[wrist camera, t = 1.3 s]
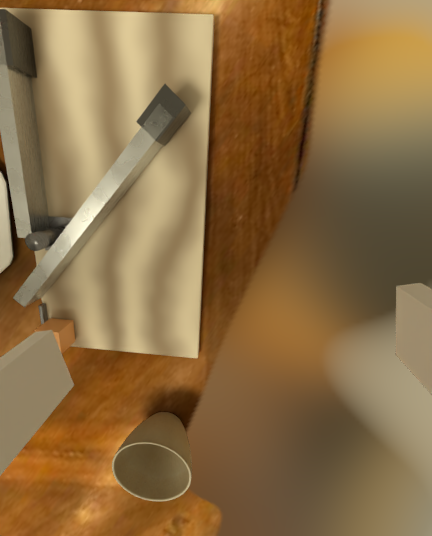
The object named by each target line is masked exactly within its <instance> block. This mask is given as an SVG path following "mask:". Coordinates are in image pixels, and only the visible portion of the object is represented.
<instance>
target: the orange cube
mask: <svg viewBox="0 0 432 536" xmlns="http://www.w3.org/2000/svg"><path fill="white" fill-rule="evenodd" d="M47 330H52V331H53V334H54V336H55V339H56V341H57V344H58V346H59V349H60V351H61V354H63V353H64V352H65V351H66V350H67V349H68V348H69V347H70V346H71V345H72V344H73V343H74V342H75V341H76V340H75V331H74V322H73V320H65V319H54V318H50V319H49V320H47V321H46V322H45V323H43V324H42V325H40V326H39V327H38V328H36V329H35V330H34V333H35V332H39V331H47Z"/></svg>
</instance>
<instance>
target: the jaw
mask: <svg viewBox="0 0 432 536" xmlns="http://www.w3.org/2000/svg"><path fill="white" fill-rule="evenodd" d="M190 114H191V112H190V110H189V109H188V107H187V106H186V104H185V103H184V102H183V101H182V100H181V99H180V98H179V97H178V96H177V95H176V94H175V93H174V92H173V91H172V90H171V89H170V88H169V87H168V86H167V85H166V84H164V85H163V86H162V88H161V89H160V90H159V92H158V93H157V94H156V96H155V97H154V99H153V100H152V101H151V103H150V104H149V105H148V107H147V108H146V109H145V111H144V112H143V113H142V115H141V116H140V117H139V119H138V120H137V121H136V122H137V123H138V124H139V125H140V126H141V128H140V129H139V131H138V132H137V133H136V135H135V136H134V137H133V139H132V140H131V141H130V143H129V144H128V145H127V147H126V148H125V149H124V151H123V152H122V153H121V155H120V156H119V157H118V159H117V160H116V161H115V163H114V164H113V165H112V167H111V168H110V169H109V171H108V172H107V173H106V175H105V176H104V177H103V179H102V180H101V181H100V183H99V184H98V185H97V187H96V188H95V189H94V191H93V192H92V193H91V195H90V196H89V197H88V199H87V200H86V201H85V203H84V204H83V205H82V207H81V208H80V209H79V211H78V212H77V213H76V215H75V216H74V217H73V219H72V220H71V221H70V223H69V224H68V225H67V227H66V228H65V229H64V231H63V232H62V233H61V235H60V236H59V237H58V239H57V240H56V241H55V243H54V244H53V245H52V247H51V248H50V249H49V250H48V252H47V253H46V254H45V256H44V257H43V258H42V260H41V261H40V262H39V264H38V265H37V266H36V268H35V269H34V270H33V272H32V273H31V274H30V276H29V277H28V278H27V280H26V281H25V282H24V284H23V285H22V286H21V288H20V289H19V290H18V292H17V293H16V294H15V296H14V297H13V299H15V300H16V301H17V302H19V303H20V304H21V305H22V306H24V307H26V306H28V305H29V304H31V303H33V302H35V301H36V300H38V299H40V298H41V297H43V296H44V294H45V293H46V292H47V291H48V289H49V288H50V287H51V286H52V284H53V283H54V282H55V281H56V279H57V278H58V277H59V276H60V274H61V273H62V272H63V271H64V269H65V268H66V267H67V266H68V264H69V263H70V262H71V261H72V259H73V258H74V257H75V255H76V254H77V253H78V252H79V250H80V249H81V248H82V247H83V245H84V244H85V243H86V242H87V240H88V239H89V238H90V237H91V235H92V234H93V233H94V232H95V230H96V229H97V228H98V227H99V225H100V224H101V223H102V222H103V220H104V219H105V218H106V216H107V215H108V214H109V213H110V211H111V210H112V209H113V208H114V206H115V205H116V204H117V203H118V201H119V200H120V199H121V198H122V196H123V195H124V194H125V193H126V191H127V190H128V189H129V188H130V186H131V185H132V184H133V183H134V181H135V180H136V179H137V177H138V176H139V175H140V174H141V172H142V171H143V170H144V169H145V167H146V166H147V165H148V164H149V162H150V161H151V160H152V159H153V157H154V156H155V155H156V154H157V152H158V151H159V150H160V149H161V147H162V146H163V145H164V146H166V144H167V143H168V142H169V141H170V139H171V138H172V137H173V136H174V134H175V133H176V132H177V131H178V129H179V128H180V127H181V126H182V124H183V123H184V122H185V121H186V119H187V118H188V117H189V116H190Z"/></svg>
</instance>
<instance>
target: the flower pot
mask: <svg viewBox="0 0 432 536" xmlns="http://www.w3.org/2000/svg"><path fill="white" fill-rule="evenodd" d="M191 463H192V462H191V451H190V445H189V441H188V437H187V434H186V431H185V428H184V426H183V424H182V422H181V420H180V419H179V418H178V417H177V416H176V415H174V414H172V413H169V412H158V413H156V414H154V415H152V416H150V417H149V418H147V419H146V420H144V421H143V422H142V423H141V424H140V425H138V426H137V427H136V428H135V429H134V430H133V431H132V432H131V434H130V435H129V436H128V437H127V438H126V440H125V441H124V442H123V444H122V445H121V447H120V448H119V450H118V451H117V453H116V455H115V456H114V459H113V462H112V470H113V474H114V477H115V478H116V480H117V482H118V483H119V484H120V485H121V486H122V487H123V488H124V489H125V490H126V491H128V492H129V493H131V494H133V495H135V496H137V497H139V498H142V499H145V500H150V501H168V500H172V499H175V498H177V497H179V496H181V495H182V494H183V493H184V492H186V490H187V489H188V487H189V486H190V483H191V474H192V464H191Z"/></svg>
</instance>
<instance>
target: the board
mask: <svg viewBox="0 0 432 536" xmlns="http://www.w3.org/2000/svg"><path fill="white" fill-rule="evenodd" d="M0 9H6V10H7V11H9V12H10V13H11V14H13V15H14V16H15V17H17V18H18V19H19V20H21V21H22V22H23V23H25V24H26V25H27V26H29V27H30V28H31V30H32V39H33V47H34V55H35V64H36V72H37V78H31V79H32V87H33V95H34V103H35V111H36V119H37V127H38V135H39V143H40V151H41V159H42V167H43V175H44V183H45V191H46V198H47V206H48V214H49V216H53V217H68V218H73V217H74V216H75V215H76V213H77V212H78V211H79V209H80V208H81V207H82V205H83V204H84V203H85V201H86V200H87V199H88V197H89V196H90V195H91V193H92V192H93V191H94V189H95V188H96V187H97V185H98V184H99V183H100V181H101V180H102V179H103V177H104V176H105V175H106V173H107V172H108V171H109V169H110V168H111V167H112V165H113V164H114V163H115V161H116V160H117V159H118V157H119V156H120V155H121V153H122V152H123V151H124V149H125V148H126V147H127V145H128V144H129V143H130V141H131V140H132V139H133V137H134V136H135V135H136V133H137V132H138V131H139V129H140V128H141V126H140V125H139V124H138V123H137V122H136V121H137V120H138V119H139V117H140V116H141V115H142V113H143V112H144V111H145V109H146V108H147V107H148V105H149V104H150V103H151V101H152V100H153V99H154V97H155V96H156V94H157V93H158V92H159V90H160V89H161V88H162V86H163V85H164V84H166V85H167V86H168V87H169V88H170V89H171V90H172V91H173V92H174V93H175V94H176V95H177V96H178V97H179V98H180V99H181V100H182V101H183V102H184V103H185V104H186V106H187V107H188V109H189V110H190V112H191V114H190V116H189V117H188V118H187V119H186V121H185V122H184V123H183V124H182V126H181V127H180V128H179V129H178V131H177V132H176V133H175V134H174V136H173V137H172V138H171V139H170V141H169V142H168V143H167V144H166V146H164V145H163V146H162V147H161V149H160V150H159V151H158V152H157V154H156V155H155V156H154V157H153V159H152V160H151V161H150V162H149V164H148V165H147V166H146V167H145V169H144V170H143V171H142V172H141V174H140V175H139V176H138V177H137V179H136V180H135V181H134V183H133V184H132V185H131V186H130V188H129V189H128V190H127V191H126V193H125V194H124V195H123V196H122V198H121V199H120V200H119V201H118V203H117V204H116V205H115V206H114V208H113V209H112V210H111V211H110V213H109V214H108V215H107V216H106V218H105V219H104V220H103V222H102V223H101V224H100V225H99V227H98V228H97V229H96V230H95V232H94V233H93V234H92V235H91V237H90V238H89V239H88V240H87V242H86V243H85V244H84V245H83V247H82V248H81V249H80V250H79V253H77V254H76V255H75V257H74V258H73V259H72V261H71V262H70V263H69V264H68V266H67V267H66V268H65V269H64V271H63V272H62V273H61V274H60V276H59V277H58V278H57V279H56V281H55V282H54V283H53V284H52V286H51V287H50V288H49V289H48V291H47V292H46V293H45V294H44V296H43V297H41V298H42V303H46V307H47V314H48V320H49V319H50V318H54V319H65V320H73V322H74V331H75V340H76V341H75V342H74V343H73V344H72V345H71V346H72V347H83V348H93V349H104V350H114V351H125V352H135V353H146V354H156V355H167V356H178V357H188V358H198V355H199V340H200V319H201V298H202V276H203V255H204V234H205V213H206V191H207V170H208V149H209V127H210V106H211V85H212V63H213V42H214V15H212V14H180V13H148V12H116V11H84V10H52V9H21V8H0ZM47 252H48V250H45V248H44V249H42V250H39V251H35V258H36V264H37V265H38V264H39V262H40V261H41V260H42V258H43V257H44V256H45V254H46V253H47Z"/></svg>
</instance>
